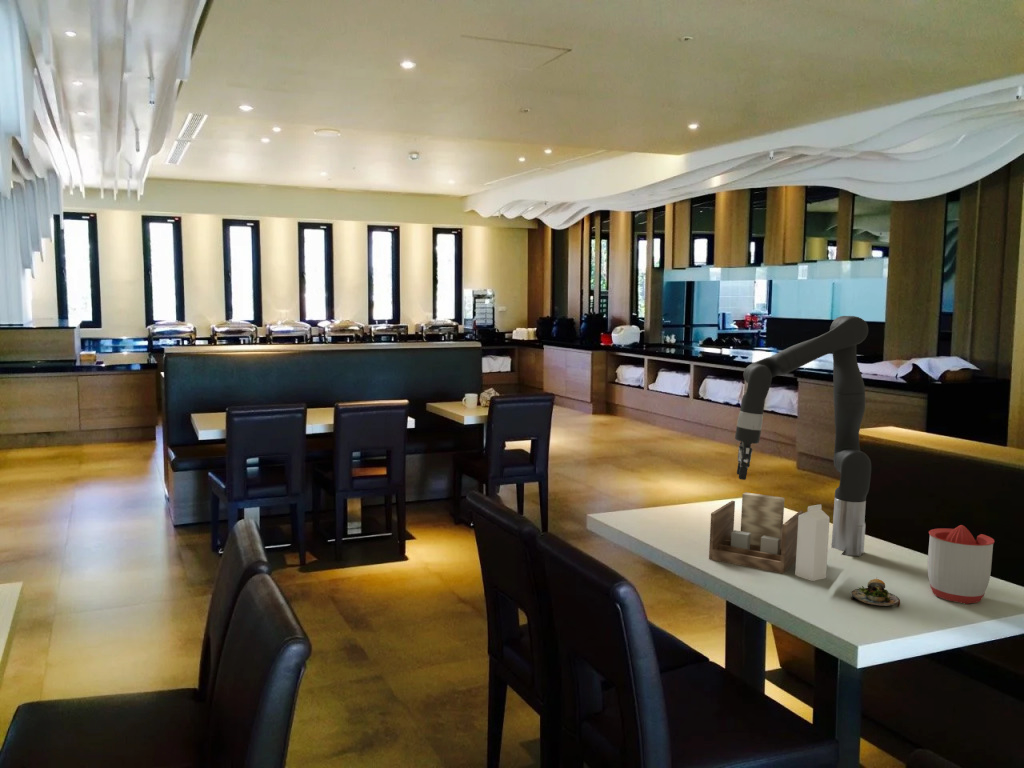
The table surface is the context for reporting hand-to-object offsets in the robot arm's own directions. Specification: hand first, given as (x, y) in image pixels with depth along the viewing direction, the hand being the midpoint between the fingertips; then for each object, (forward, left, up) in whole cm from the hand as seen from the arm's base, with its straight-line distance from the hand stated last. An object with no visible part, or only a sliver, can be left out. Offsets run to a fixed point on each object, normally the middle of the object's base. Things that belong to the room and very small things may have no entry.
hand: (741, 476), depth 258 cm
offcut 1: (-4, +10, -22) cm, 25 cm away
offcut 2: (-13, +10, -22) cm, 28 cm away
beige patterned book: (-8, +4, -22) cm, 24 cm away
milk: (-26, +18, -24) cm, 40 cm away
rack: (-8, +10, -24) cm, 27 cm away
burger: (-44, +24, -24) cm, 56 cm away
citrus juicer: (-62, +6, -24) cm, 67 cm away
